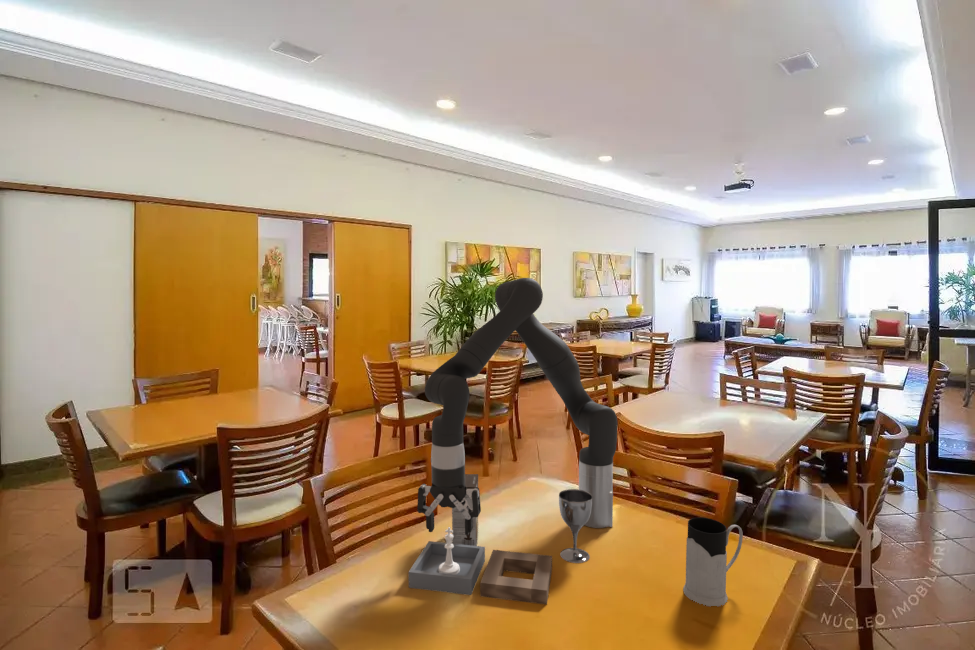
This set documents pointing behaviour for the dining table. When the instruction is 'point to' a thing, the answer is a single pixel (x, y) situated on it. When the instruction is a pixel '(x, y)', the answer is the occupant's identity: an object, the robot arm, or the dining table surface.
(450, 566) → the chess piece
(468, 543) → the coffee box
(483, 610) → the dining table surface
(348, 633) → the dining table surface
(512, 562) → the socket block
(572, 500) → the wine glass
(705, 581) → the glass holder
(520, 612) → the dining table surface
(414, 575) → the tray
